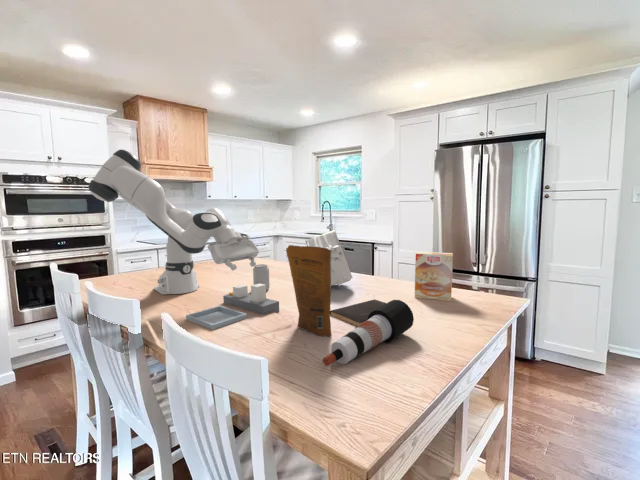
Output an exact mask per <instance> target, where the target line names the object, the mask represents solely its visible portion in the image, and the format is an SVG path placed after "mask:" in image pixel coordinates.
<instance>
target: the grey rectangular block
mask: <svg viewBox="0 0 640 480" xmlns="http://www.w3.org/2000/svg"><path fill="white" fill-rule="evenodd" d="M250 294H251V302H253V303H257V304H258V303H261V302H264V301H266V298H267V290H266V285H265V284H260V283H259V284H255V285H254V284H252V285H250Z"/></svg>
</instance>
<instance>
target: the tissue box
mask: <svg viewBox="0 0 640 480" xmlns="http://www.w3.org/2000/svg"><path fill="white" fill-rule="evenodd" d="M305 245H306V246H311V247H322V248H327V249H329V250H331V251H332V252H331V287H332V286H335V285H337V286H339V285H341V284H344V283H347V282H350V281H351V279H353V275H352V273H351V270H350V267H349V264H348V261H347V258H346V256H345V254H344V251H343V249H342V245H341V243H340V240H339V238H338V235H337V232H336V230H335V229H333V230H330V231H328V232H325V233H323V234H320V235H317V236H314V237H311V238H309V239H306V240H305Z"/></svg>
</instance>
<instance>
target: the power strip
mask: <svg viewBox="0 0 640 480" xmlns="http://www.w3.org/2000/svg"><path fill="white" fill-rule="evenodd" d="M248 292H249V291H248V285H244V284H238V285H235V286H233V287H232V291H231V292H229V293H228V294H224V295H223V296H222V297H223V298H222V300H223V304H226V305H229V306H233V307H236V308H239V309H242V310H243V309H244V310H246V311H249V312H253V313H257V314H260V315H263V316H264V315H266V314H270V313H272V312H274V313H279V312H280V301H278V300H276V299H275V300H274V299H270V298H267V297H266V301H264V302H261V303H258V304H257V303H253V302H251V293H248Z"/></svg>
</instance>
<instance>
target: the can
mask: <svg viewBox="0 0 640 480" xmlns="http://www.w3.org/2000/svg"><path fill="white" fill-rule="evenodd" d="M252 268H253V269H252V277H253V280H252V281H253V285H255V284H259V283H260V284H265V285H266V291H268V290H269V289H270V268H269V267H268V264H256V265H255V266H253V267H252Z"/></svg>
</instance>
